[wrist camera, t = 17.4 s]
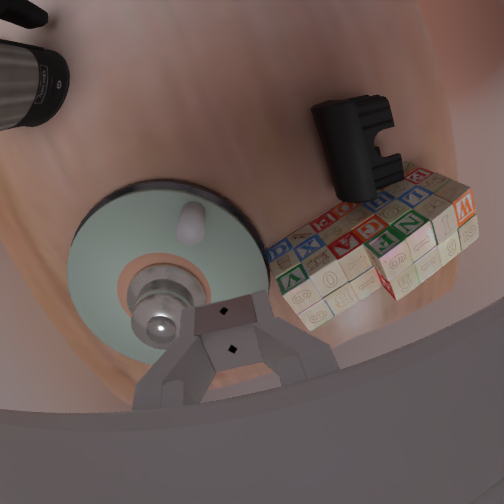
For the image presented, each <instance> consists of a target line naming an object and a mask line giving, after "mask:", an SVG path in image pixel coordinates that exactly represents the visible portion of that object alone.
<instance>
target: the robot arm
mask: <svg viewBox="0 0 504 504" xmlns="http://www.w3.org/2000/svg"><path fill="white" fill-rule="evenodd" d="M251 295H252V296H251ZM260 362H264V363H265V364H266V365H267V366H268V367H269V368H270V369H272V370H273V371H274V372H275V373H276V374H277V375H279V377H280V381H281V387H278V388H273V389H269V390H265V391H260V392H256V393H251V394H247V395H242V396H237V397H232V398H227V399H222V400H216V401H210V402H204V403H200V402H201V400H202V398H203V396H204V394H205V393H206V391H207V389H208V387H209V385H210V384H211V382H212V380H213V378H214V376H215V374H216V372H219V371H223V370H228V369H232V368H236V367H241V366H246V365H251V364H256V363H260ZM0 504H504V297H502V298H501V299H499V300H497V301H495V302H494V303H492V304H490V305H488V306H486V307H485V308H483V309H481V310H479V311H477V312H476V313H474V314H472V315H470V316H468V317H466V318H464V319H462V320H460V321H458V322H456V323H454V324H452V325H450V326H448V327H446V328H444V329H442V330H440V331H437V332H435V333H433V334H431V335H429V336H426V337H424V338H422V339H420V340H417V341H415V342H413V343H410V344H408V345H406V346H403V347H401V348H398V349H396V350H393V351H391V352H388V353H386V354H383V355H380V356H378V357H375V358H372V359H370V360H367V361H364V362H361V363H359V364H356V365H353V366H350V367H347V368H344V369H340V367H339V365H338V363H337V361H336V358H335V356H334V354H333V352H332V350H331V348H330V345H329V344H327V343H325V342H323V341H322V340H320V339H318V338H316V337H314V336H312V335H310V334H308V333H307V332H305V331H303V330H301V329H299V328H297V327H296V326H294V325H292V324H290V323H288V322H286V321H285V320H283V319H281V318H279V317H276V318H274V315H273V312H272V309H271V306H270V302H269V299H268V296H267V293H266V290H265V289H264V290H261V291H257V292H254V293H251V294H248V295H244V296H240V297H236V298H232V299H228V300H222V301H218V302H213V303H208V304H203V305H199V306H194V307H189V308H185V309H183V310H182V311H181V320H180V331H179V340H175V341H174V342H173V343H172V344H171V345H170V347H169V348H168V349H167V350H166V351H165V352H164V353H163V355H162V356H161V357H160V358H159V359H158V360H157V361H156V363H155V364H154V365H153V366H152V367H151V368H150V369H149V371H148V372H147V373H146V374H145V375H144V376H143V377H142V379H141V380H140V381H139V382H138V383H137V384H136V388H135V394H134V400H133V407H132V411H125V412H107V413H44V412H27V411H14V410H5V409H0Z"/></svg>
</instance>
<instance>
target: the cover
mask: <svg viewBox="0 0 504 504" xmlns="http://www.w3.org/2000/svg"><path fill="white" fill-rule="evenodd" d="M126 298H127V305H128V308H129V311H130V313H131V314H132V317H131V328H132V330H133V332H134V334H135V336H136V337H137V338H138V339H139V340H140V341H141V342H143V343H144V344H146V345H148V346H150V347H152V348H155V349H160V350H167V349H168V348H169V347H170V345H171V344H172V343H173V342H174V341H175V340H179V331H180V320H181V311H182V310H183V309H185V308H189V307H194V306H199V305H203V304H206V293H205V289H204V287H203V285H202V283H201V281H200V280H199V279H198V278H197V277H196V275H194V274H193V273H192V272H191V271H189V270H188V269H186V268H184V267H182V266H179V265H176V264H172V263H155V264H151V265H148V266H146V267H144V268H142V269H141V270H140V271H138V272H137V273H136V274H135V275H134V277H133V278H132V280H131V282H130V285H129V287H128V291H127V296H126Z"/></svg>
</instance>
